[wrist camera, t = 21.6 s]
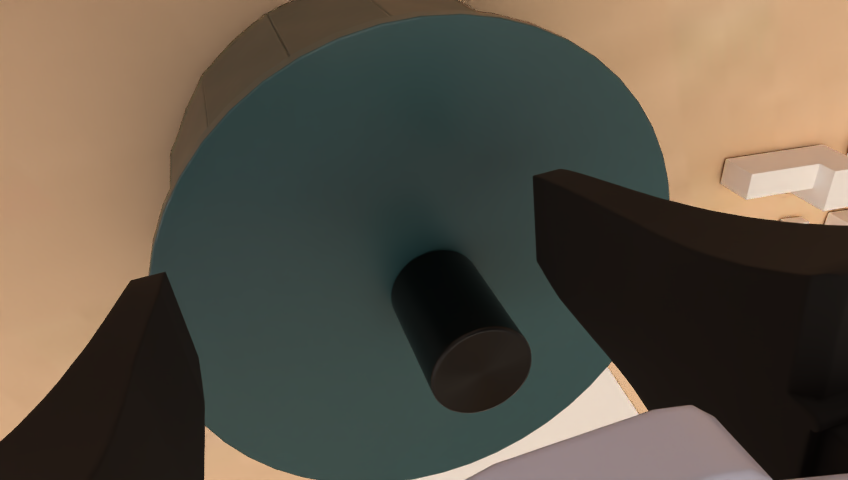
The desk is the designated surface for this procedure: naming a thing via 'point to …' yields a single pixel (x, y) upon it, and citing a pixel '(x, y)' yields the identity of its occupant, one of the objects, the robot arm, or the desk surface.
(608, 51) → the desk surface
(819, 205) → the modular blocks
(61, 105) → the desk surface
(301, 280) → the lid
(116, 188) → the desk surface
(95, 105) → the desk surface
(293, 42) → the pot
